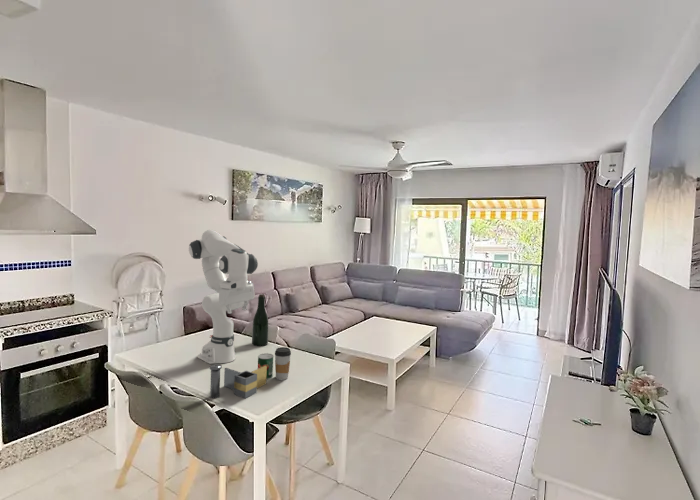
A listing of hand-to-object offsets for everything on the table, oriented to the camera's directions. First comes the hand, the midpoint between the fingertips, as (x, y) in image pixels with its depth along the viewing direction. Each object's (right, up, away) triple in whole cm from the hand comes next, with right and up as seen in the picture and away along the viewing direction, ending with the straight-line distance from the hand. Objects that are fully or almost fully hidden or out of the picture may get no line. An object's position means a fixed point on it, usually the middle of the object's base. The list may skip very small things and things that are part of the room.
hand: (237, 311), depth 181 cm
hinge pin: (-8, -37, -9) cm, 39 cm away
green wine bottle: (-5, -32, +66) cm, 74 cm away
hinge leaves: (+3, -37, +2) cm, 37 cm away
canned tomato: (+10, -37, +16) cm, 41 cm away
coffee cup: (+19, -37, +15) cm, 44 cm away
